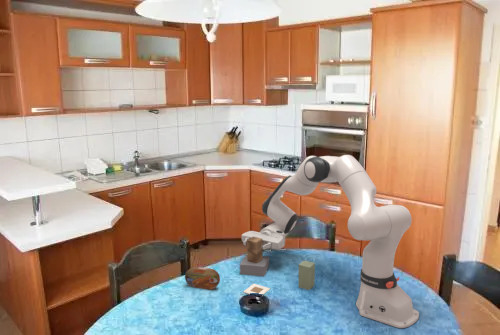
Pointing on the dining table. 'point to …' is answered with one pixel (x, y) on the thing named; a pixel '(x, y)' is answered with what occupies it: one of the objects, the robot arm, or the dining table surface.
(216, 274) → the tin
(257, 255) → the walnut block
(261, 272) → the base block
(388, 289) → the robot arm
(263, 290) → the card
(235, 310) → the dining table surface
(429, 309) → the dining table surface
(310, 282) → the olive block
